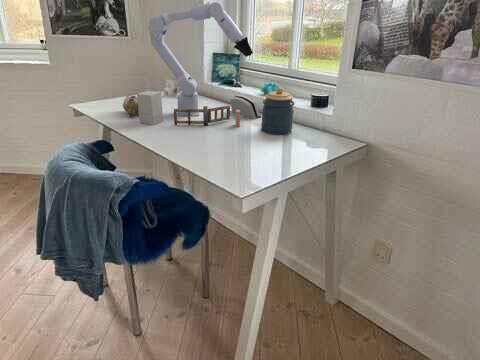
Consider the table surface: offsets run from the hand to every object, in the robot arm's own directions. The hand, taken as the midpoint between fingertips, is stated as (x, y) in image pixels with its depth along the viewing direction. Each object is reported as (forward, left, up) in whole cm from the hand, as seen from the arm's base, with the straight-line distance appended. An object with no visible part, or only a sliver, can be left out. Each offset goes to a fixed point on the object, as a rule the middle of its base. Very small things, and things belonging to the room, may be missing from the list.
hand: (249, 55), depth 155 cm
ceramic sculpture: (-52, +2, -28) cm, 58 cm away
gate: (-13, -11, -26) cm, 32 cm away
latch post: (-5, -15, -27) cm, 32 cm away
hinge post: (-19, -15, -27) cm, 36 cm away
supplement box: (-43, -11, -27) cm, 52 cm away
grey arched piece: (-1, +3, -28) cm, 28 cm away
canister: (+10, -21, -27) cm, 36 cm away
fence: (-26, -15, -27) cm, 41 cm away
